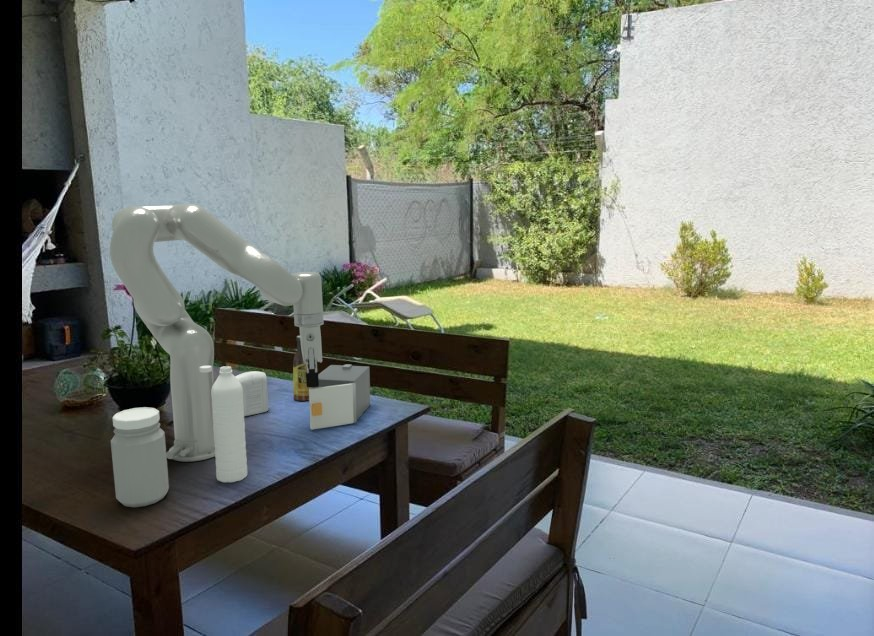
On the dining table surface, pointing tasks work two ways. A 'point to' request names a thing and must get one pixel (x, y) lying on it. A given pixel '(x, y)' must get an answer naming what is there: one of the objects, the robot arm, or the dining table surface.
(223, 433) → the water bottle
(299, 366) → the sauce bottle
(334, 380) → the gray box
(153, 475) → the jar
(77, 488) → the dining table surface
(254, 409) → the photo printer
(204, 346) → the robot arm
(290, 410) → the dining table surface
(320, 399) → the side door
